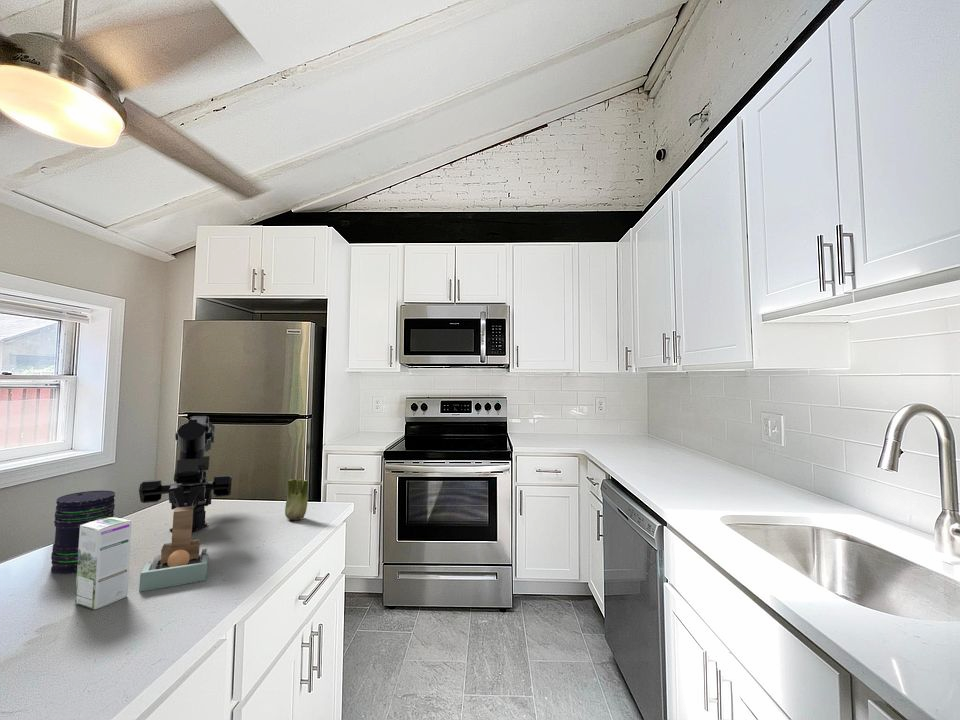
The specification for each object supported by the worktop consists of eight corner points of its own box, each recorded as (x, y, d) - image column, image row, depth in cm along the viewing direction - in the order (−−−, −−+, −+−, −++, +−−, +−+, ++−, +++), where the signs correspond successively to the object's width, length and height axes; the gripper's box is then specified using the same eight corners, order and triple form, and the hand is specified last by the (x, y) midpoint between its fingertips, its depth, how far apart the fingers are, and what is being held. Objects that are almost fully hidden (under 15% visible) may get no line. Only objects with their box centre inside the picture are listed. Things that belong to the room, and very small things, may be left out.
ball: (162, 572, 93) (163, 552, 93) (177, 564, 97) (178, 546, 97) (178, 573, 93) (179, 554, 93) (193, 565, 97) (194, 547, 97)
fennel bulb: (308, 518, 131) (310, 478, 132) (295, 523, 127) (297, 481, 127) (294, 515, 134) (296, 476, 134) (281, 520, 129) (283, 479, 130)
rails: (155, 560, 99) (155, 555, 99) (206, 552, 104) (207, 548, 104) (148, 575, 92) (149, 570, 92) (204, 566, 96) (205, 561, 97)
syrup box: (128, 596, 83) (134, 519, 83) (92, 611, 77) (98, 528, 78) (109, 590, 85) (114, 515, 85) (72, 605, 79) (78, 524, 80)
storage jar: (120, 561, 98) (125, 494, 99) (64, 578, 89) (69, 504, 90) (96, 552, 102) (101, 488, 103) (40, 568, 93) (46, 497, 94)
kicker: (163, 557, 99) (166, 508, 100) (199, 552, 103) (202, 504, 103) (160, 563, 96) (163, 513, 96) (198, 558, 99) (201, 509, 100)
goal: (144, 578, 90) (145, 561, 90) (207, 568, 95) (208, 552, 96) (139, 591, 84) (140, 573, 85) (205, 580, 90) (206, 563, 90)
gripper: (143, 446, 103) (130, 506, 93) (233, 443, 112) (231, 497, 102) (146, 473, 109) (134, 532, 99) (231, 468, 118) (229, 521, 108)
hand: (183, 520), depth 102 cm, fingers closed
